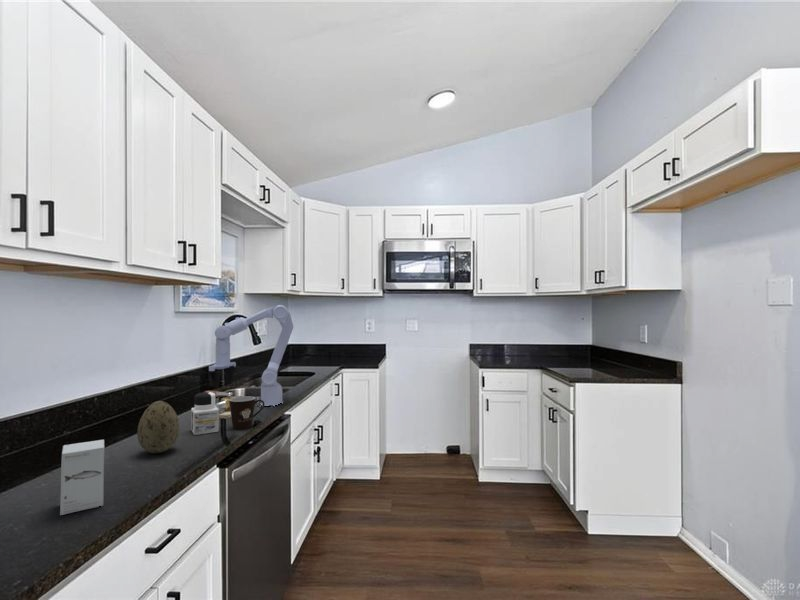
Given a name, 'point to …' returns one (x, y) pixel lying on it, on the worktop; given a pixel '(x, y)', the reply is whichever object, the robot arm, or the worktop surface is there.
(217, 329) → the robot arm
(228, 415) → the mounting board
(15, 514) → the worktop surface
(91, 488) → the supplement box
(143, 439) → the decorative egg
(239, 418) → the coffee mug
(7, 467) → the worktop surface
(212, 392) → the valve lever
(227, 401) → the valve pipe
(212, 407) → the container
